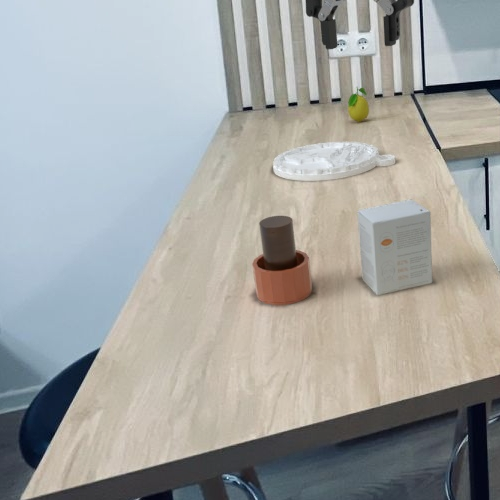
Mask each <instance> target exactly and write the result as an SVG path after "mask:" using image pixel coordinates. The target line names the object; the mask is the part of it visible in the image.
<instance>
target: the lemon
mask: <svg viewBox="0 0 500 500" xmlns="http://www.w3.org/2000/svg"><path fill="white" fill-rule="evenodd" d="M358 87H359V86H356V93H353V94H351V95H350V96H349V99H348V103H347V104H348V108H347V110H348V116H349V117H350V119H352V120H353V121H356V122H357V123H361V122H362V121H363V120H365V119H367V118H368V116H369V113H370V106H369V103H368V101H367V99H366V98H365V97H364V96H367V92H366V89H365V88H364V87H360V88H359V89H358ZM359 92H360V93H361V94H362V95H364V96H362V95H360V94H359Z"/></svg>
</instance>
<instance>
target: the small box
mask: <svg viewBox="0 0 500 500" xmlns="http://www.w3.org/2000/svg"><path fill="white" fill-rule="evenodd" d="M431 218H432V217H431V211H430V210H428V209H427V208H425V207H424V206H423V205H421V204H419V203H418V202H416V201H415V200H413V199H411V198H410V199H406V200H401V201H396V202H391V203H387V204H386V203H385V204H381V205H376V206H372V207H367V208H363V209H358V210H357V224H358V236H359V237H358V238H359V239H358V240H359V251H360V265H361V278H362V281H363V282H364V283H365V284H366V285H367V286H368V287H369V288H370V289H371V290H372V291H373V293H375V294H376V295H377V296H380V295H383V294H388V293H393V292H398V291H402V290H406V289H407V290H408V289H411V288H416V287H421V286H425V285H430V284H433V258H432V257H433V255H432V223H431Z"/></svg>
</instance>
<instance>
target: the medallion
mask: <svg viewBox="0 0 500 500" xmlns="http://www.w3.org/2000/svg"><path fill="white" fill-rule="evenodd" d="M273 160H274V161H273V162H272V168H273V173H274V174H275V175H276V176H278V177H280V178H283V179H286V180H293V181H308V182H309V181H310V182H313V181H330V180H337V179H342V178H343V179H344V178H347V177H352V176H356V175H359V174H363V173H365V172H368V171H370V170H372V169H374V168H375V167H389V166H392V165H395V164H396V156H395V155H394V154H380V152H379V150H378V147H375V146H374V144H368V143H367V142H359V141H346V140H345V141H329V142H318V143H314V144H306V145H304V146H298V147H294V148H291V149H289V150H285V151H284V152H282V153H279V154H278V155H277V156H276V157H274V158H273Z"/></svg>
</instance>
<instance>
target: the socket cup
mask: <svg viewBox="0 0 500 500" xmlns="http://www.w3.org/2000/svg"><path fill="white" fill-rule="evenodd" d="M296 257H297V267H294V268H292V269H287V270H282V271H269V270H265V264H264V257H263V253H261V254H260V255H258V256H257V257H255V258H254V259H253V261H252V263H251V266H252V267H251V268H252V273H253V274H252V275H253V280H254V289H255V295H256V298H257V299H258V300H259V301H260V302H262V303H263V304H267V305H273V306H286V305H291V304H296V303H299V302H302V301H303V300H305V299H307V298H308V297H309V296H310V295H311V294H312V292H313V280H312V271H311V263H310V261H311V260H310V256H309V255H308V253H306V252H304V251H301V250H298V249H296Z"/></svg>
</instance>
